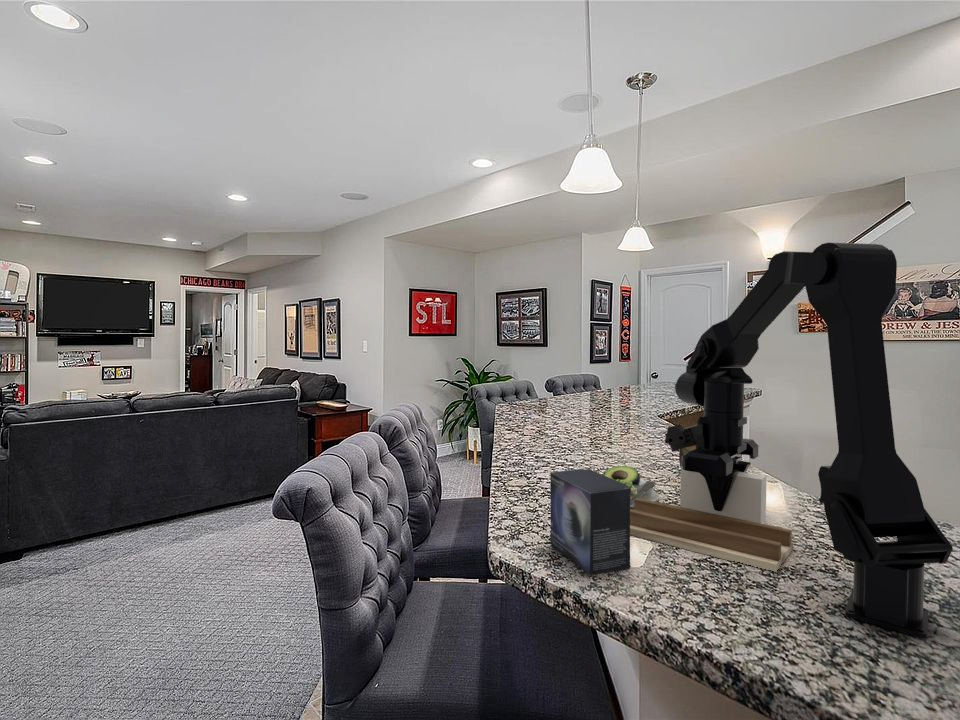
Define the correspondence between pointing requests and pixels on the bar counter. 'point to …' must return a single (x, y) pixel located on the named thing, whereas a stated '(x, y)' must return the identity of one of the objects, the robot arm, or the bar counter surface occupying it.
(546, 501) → the bar counter surface
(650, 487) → the salad plate
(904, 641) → the bar counter surface
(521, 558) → the bar counter surface
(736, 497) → the door panel
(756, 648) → the bar counter surface
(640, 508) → the floor track
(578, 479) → the small box
